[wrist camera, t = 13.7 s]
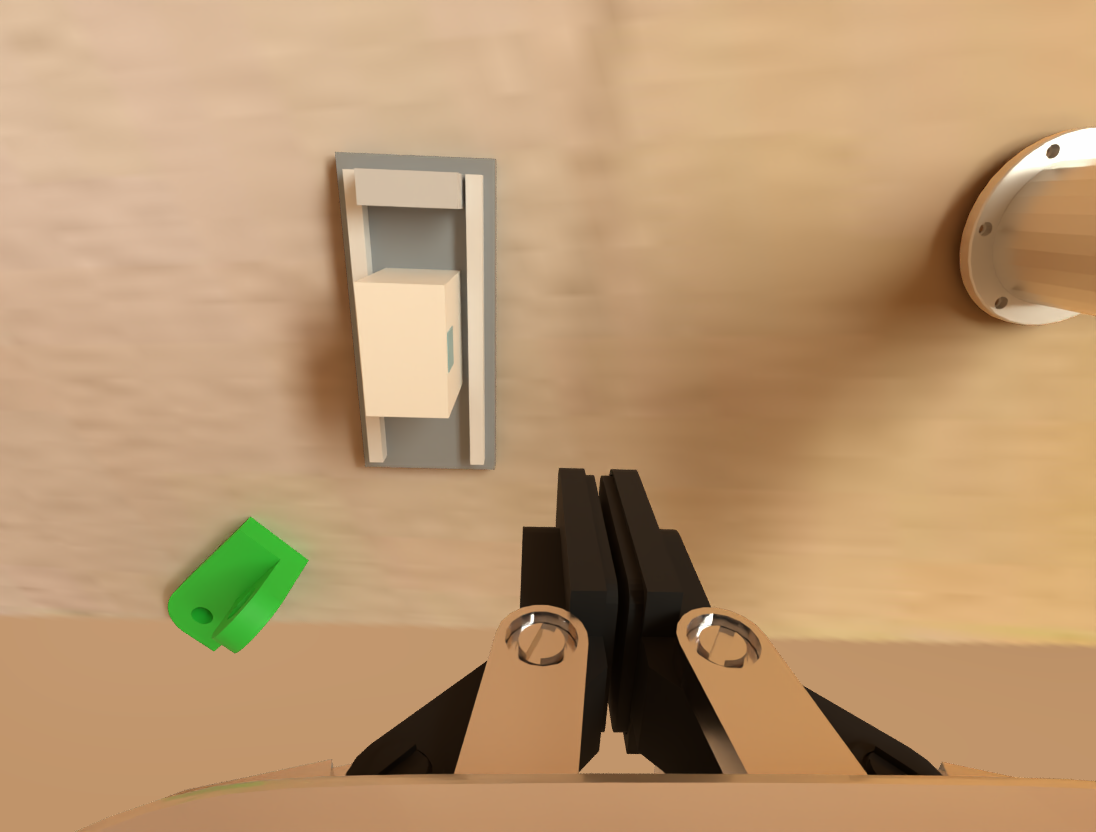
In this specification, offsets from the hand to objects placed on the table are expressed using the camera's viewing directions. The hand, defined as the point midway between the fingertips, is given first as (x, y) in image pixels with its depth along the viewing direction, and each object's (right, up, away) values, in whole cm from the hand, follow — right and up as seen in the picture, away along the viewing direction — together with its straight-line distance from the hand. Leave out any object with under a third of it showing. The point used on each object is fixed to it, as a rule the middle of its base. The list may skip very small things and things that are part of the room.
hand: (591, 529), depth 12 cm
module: (-10, +9, +26) cm, 29 cm away
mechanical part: (-28, -12, +36) cm, 47 cm away
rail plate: (-10, +9, +27) cm, 31 cm away
